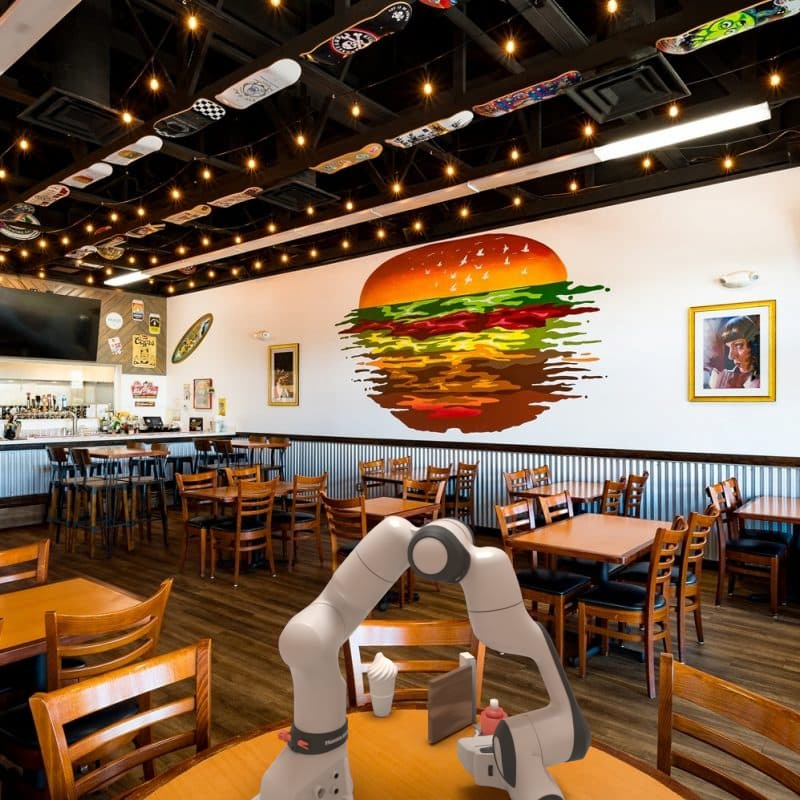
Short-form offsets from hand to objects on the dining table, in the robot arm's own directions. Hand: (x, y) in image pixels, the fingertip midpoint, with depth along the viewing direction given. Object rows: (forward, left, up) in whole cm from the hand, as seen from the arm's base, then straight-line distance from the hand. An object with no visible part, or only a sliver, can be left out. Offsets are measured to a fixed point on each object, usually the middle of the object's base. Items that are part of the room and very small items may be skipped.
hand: (493, 731), depth 138 cm
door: (+6, +17, -7) cm, 19 cm away
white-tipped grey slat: (+12, +10, -8) cm, 17 cm away
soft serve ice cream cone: (+3, +36, -8) cm, 37 cm away
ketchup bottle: (-1, -1, -8) cm, 8 cm away
